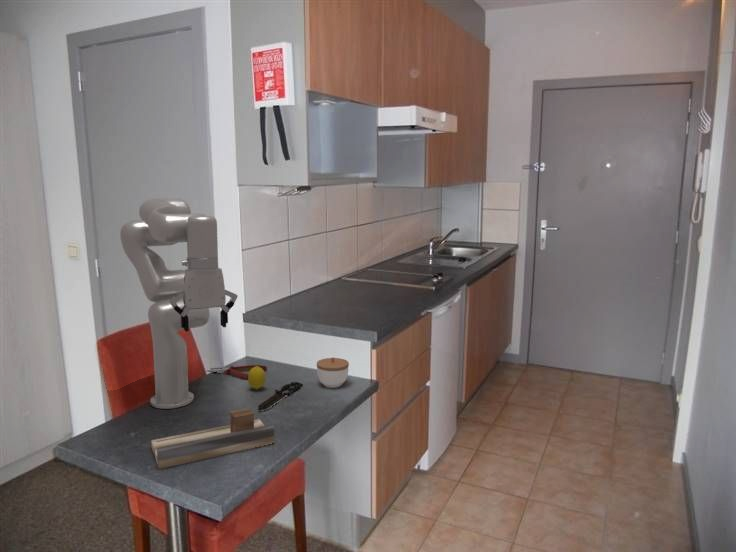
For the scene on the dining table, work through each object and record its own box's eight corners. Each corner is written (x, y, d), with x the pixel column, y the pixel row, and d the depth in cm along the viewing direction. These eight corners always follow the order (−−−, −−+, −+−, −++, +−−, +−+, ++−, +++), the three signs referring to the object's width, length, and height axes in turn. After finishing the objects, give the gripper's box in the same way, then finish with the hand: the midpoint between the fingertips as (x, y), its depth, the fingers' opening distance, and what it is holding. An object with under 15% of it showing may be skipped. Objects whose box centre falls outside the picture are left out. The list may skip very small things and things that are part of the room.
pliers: (215, 367, 200) (215, 361, 199) (268, 371, 197) (268, 364, 196) (201, 378, 189) (201, 371, 188) (256, 382, 186) (256, 375, 185)
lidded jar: (353, 382, 186) (354, 355, 185) (339, 392, 176) (339, 364, 175) (326, 377, 190) (326, 351, 189) (310, 387, 181) (310, 360, 179)
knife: (262, 415, 159) (262, 410, 159) (244, 411, 161) (244, 406, 161) (308, 387, 181) (308, 383, 181) (291, 384, 184) (291, 380, 184)
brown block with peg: (225, 426, 145) (225, 404, 144) (244, 422, 147) (243, 401, 146) (234, 439, 137) (234, 417, 136) (254, 435, 140) (253, 413, 139)
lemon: (265, 392, 175) (264, 368, 174) (247, 393, 175) (247, 369, 173) (265, 386, 181) (265, 363, 179) (248, 386, 180) (248, 363, 179)
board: (150, 446, 138) (150, 429, 137) (258, 424, 151) (258, 409, 151) (159, 469, 127) (158, 451, 126) (274, 443, 140) (273, 427, 140)
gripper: (170, 267, 133) (173, 335, 136) (240, 264, 142) (241, 328, 144) (165, 263, 140) (168, 328, 142) (232, 260, 148) (233, 321, 151)
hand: (205, 328), depth 143 cm, fingers open, 9 cm apart
